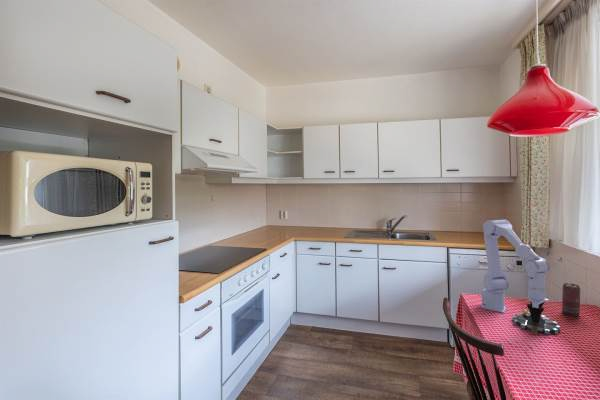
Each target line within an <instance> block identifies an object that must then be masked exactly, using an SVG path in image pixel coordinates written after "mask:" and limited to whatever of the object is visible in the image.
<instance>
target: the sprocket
mask: <svg viewBox="0 0 600 400" xmlns="http://www.w3.org/2000/svg"><path fill="white" fill-rule="evenodd" d="M528 312H529V310H528V309H522V314H519V313H515V315H512V321H513V324H514V325H515V326H520V328H521V329H523V330H528V331H531V327H535V328H538V331H537V333H542V334H544V335H550V334H555V335H556V334H559V332H561V326H560V325H559V324H558V322H557V321H556V320H555V321H554V320H550V318H548V317H546V316H545V328H540V327H536V326H532V325H527V313H528Z"/></svg>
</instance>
